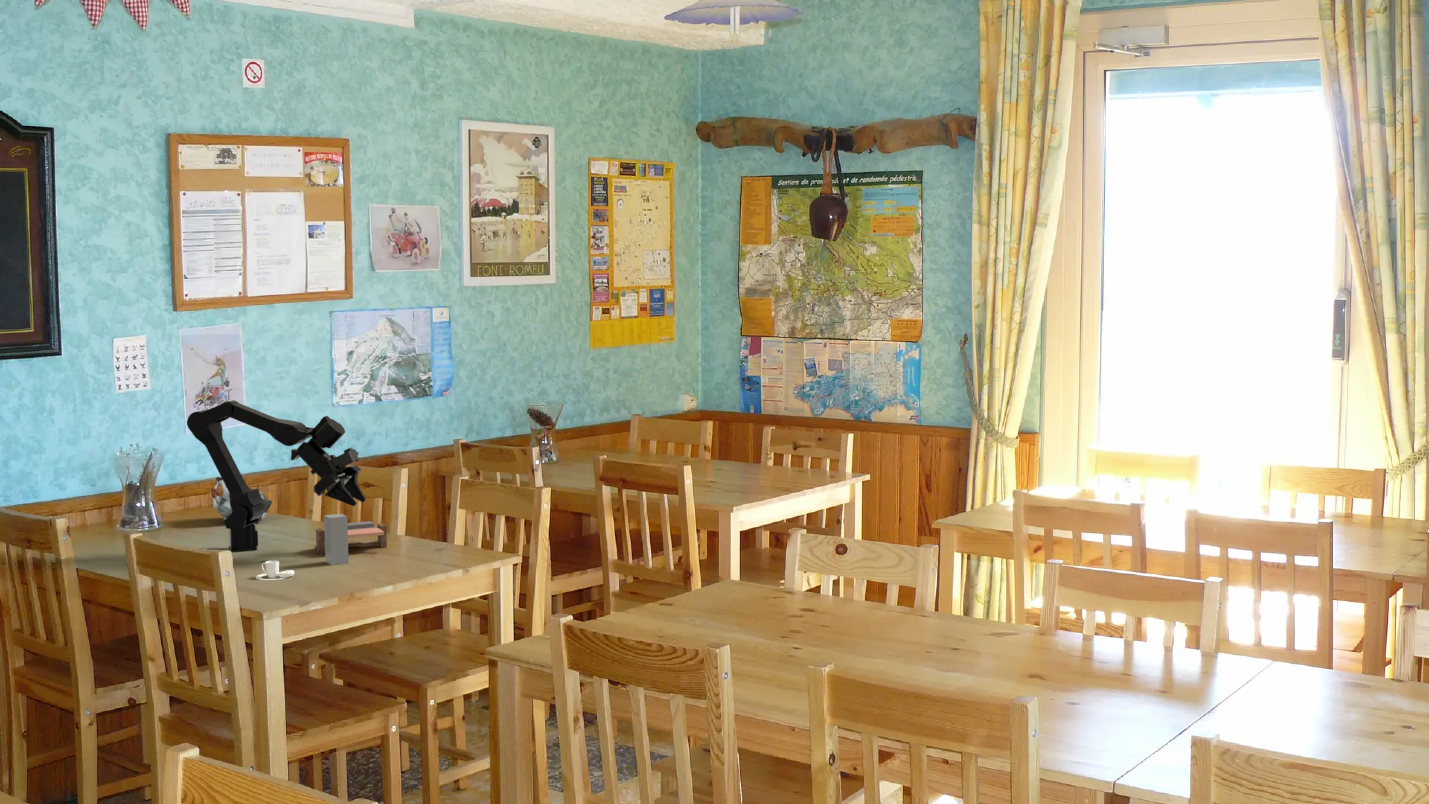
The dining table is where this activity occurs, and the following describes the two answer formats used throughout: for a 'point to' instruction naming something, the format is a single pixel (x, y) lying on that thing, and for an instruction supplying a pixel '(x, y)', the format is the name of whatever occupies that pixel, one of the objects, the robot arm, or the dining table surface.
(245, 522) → the robot arm
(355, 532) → the pink flat slab
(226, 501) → the lucky cat figurine
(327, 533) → the stone block
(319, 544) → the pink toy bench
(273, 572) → the teacup and saucer
